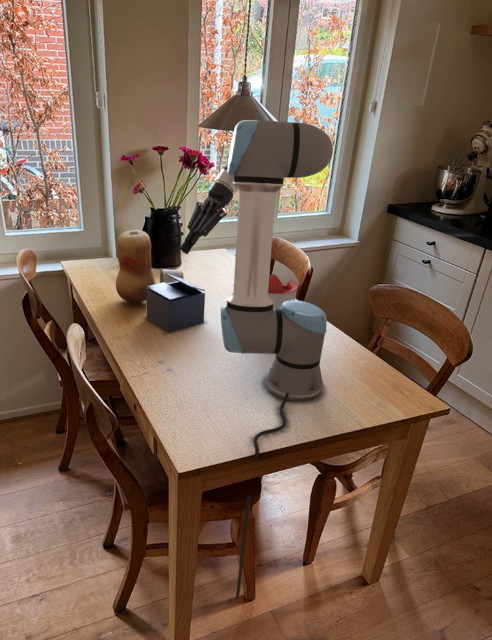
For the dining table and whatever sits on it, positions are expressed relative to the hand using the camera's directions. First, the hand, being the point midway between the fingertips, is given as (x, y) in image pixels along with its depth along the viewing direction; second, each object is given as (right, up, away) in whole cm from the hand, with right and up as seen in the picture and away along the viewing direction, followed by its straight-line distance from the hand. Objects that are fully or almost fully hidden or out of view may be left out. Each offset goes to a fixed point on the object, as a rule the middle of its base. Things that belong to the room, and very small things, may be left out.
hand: (183, 251), depth 166 cm
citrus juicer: (+27, -25, +7) cm, 37 cm away
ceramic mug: (-7, -6, +36) cm, 37 cm away
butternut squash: (-18, -13, +22) cm, 31 cm away
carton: (-3, -20, +11) cm, 23 cm away
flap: (0, -9, +6) cm, 11 cm away
